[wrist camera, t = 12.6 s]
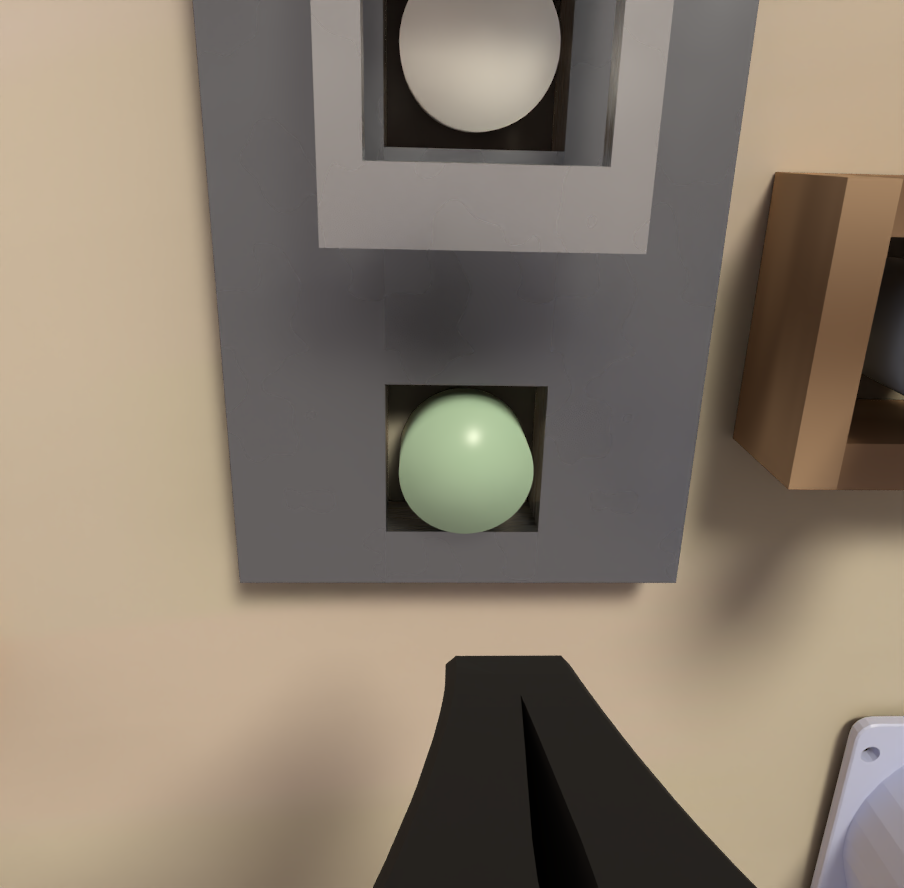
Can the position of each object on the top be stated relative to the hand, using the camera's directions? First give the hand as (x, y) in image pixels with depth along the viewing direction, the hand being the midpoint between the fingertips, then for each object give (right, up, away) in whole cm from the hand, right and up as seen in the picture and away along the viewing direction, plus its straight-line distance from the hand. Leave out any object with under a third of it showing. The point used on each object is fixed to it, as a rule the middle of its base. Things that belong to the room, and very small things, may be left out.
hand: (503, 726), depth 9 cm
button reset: (0, +11, +6) cm, 12 cm away
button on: (0, +3, +9) cm, 9 cm away
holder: (+9, +6, +9) cm, 14 cm away
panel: (0, +7, +8) cm, 11 cm away
